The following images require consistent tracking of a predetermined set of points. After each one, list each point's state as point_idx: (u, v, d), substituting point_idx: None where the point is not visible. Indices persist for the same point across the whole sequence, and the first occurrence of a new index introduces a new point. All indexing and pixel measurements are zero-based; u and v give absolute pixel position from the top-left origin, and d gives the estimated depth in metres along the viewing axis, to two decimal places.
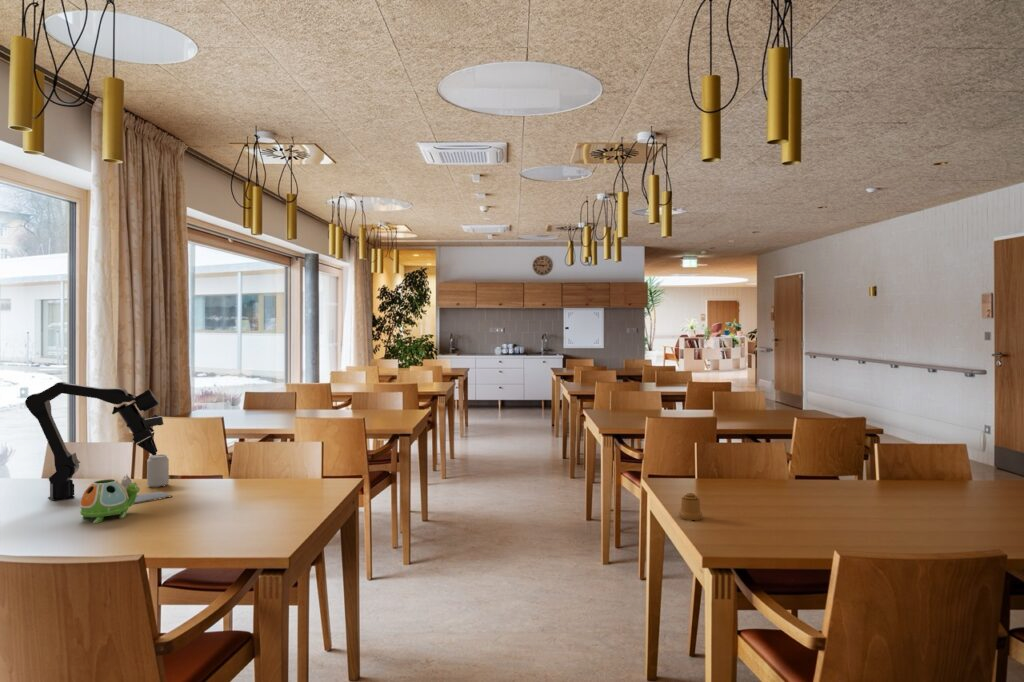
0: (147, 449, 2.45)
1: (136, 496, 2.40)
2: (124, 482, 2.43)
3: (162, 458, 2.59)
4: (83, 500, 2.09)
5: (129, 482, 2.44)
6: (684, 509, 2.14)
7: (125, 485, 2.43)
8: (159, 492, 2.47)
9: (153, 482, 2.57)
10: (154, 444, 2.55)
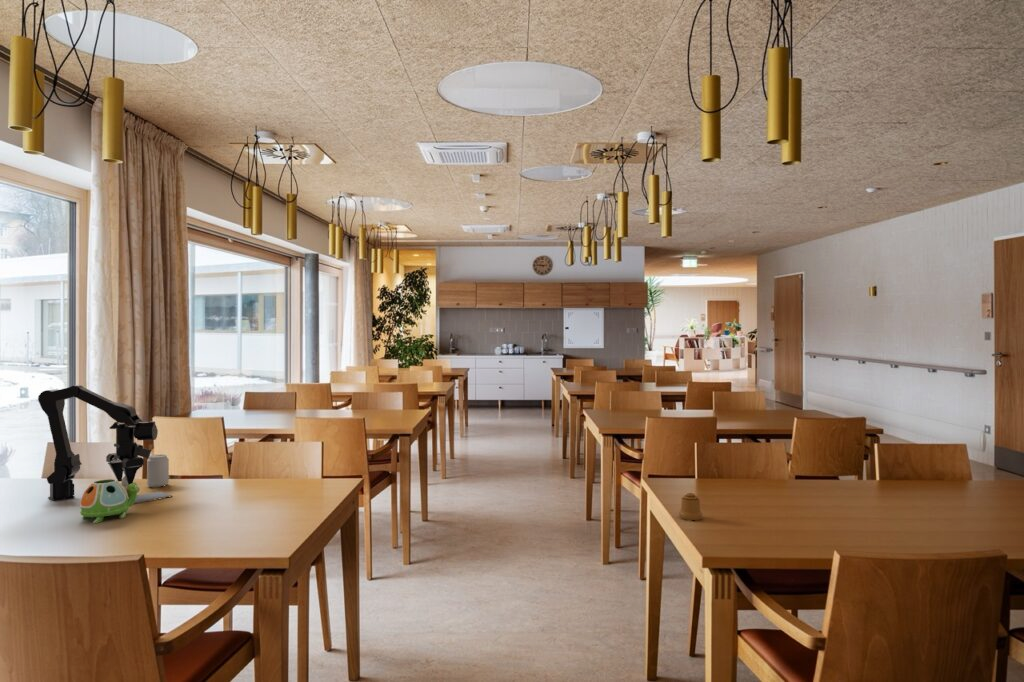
0: (128, 476, 2.39)
1: (136, 496, 2.40)
2: (124, 481, 2.43)
3: (162, 458, 2.59)
4: (83, 500, 2.09)
5: None
6: (684, 509, 2.14)
7: (125, 485, 2.43)
8: (159, 492, 2.47)
9: (153, 482, 2.57)
10: (122, 473, 2.47)
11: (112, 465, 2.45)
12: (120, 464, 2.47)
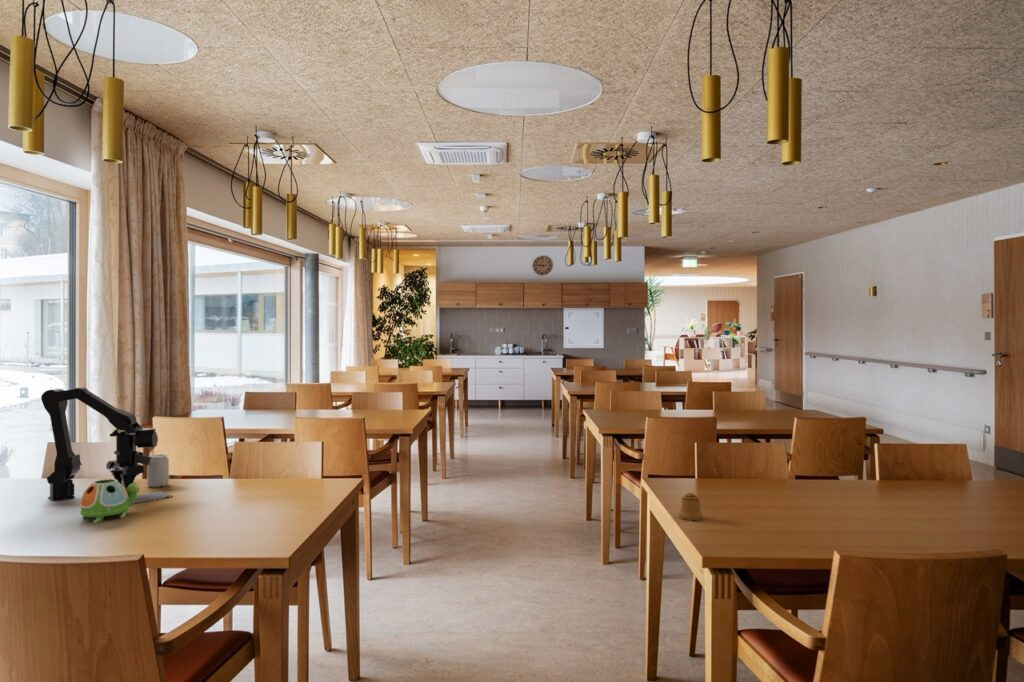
0: (126, 483, 2.40)
1: (136, 496, 2.40)
2: None
3: (162, 458, 2.59)
4: (83, 500, 2.09)
5: None
6: (684, 509, 2.14)
7: None
8: (159, 492, 2.47)
9: (153, 482, 2.57)
10: None
11: (114, 473, 2.44)
12: (122, 472, 2.46)
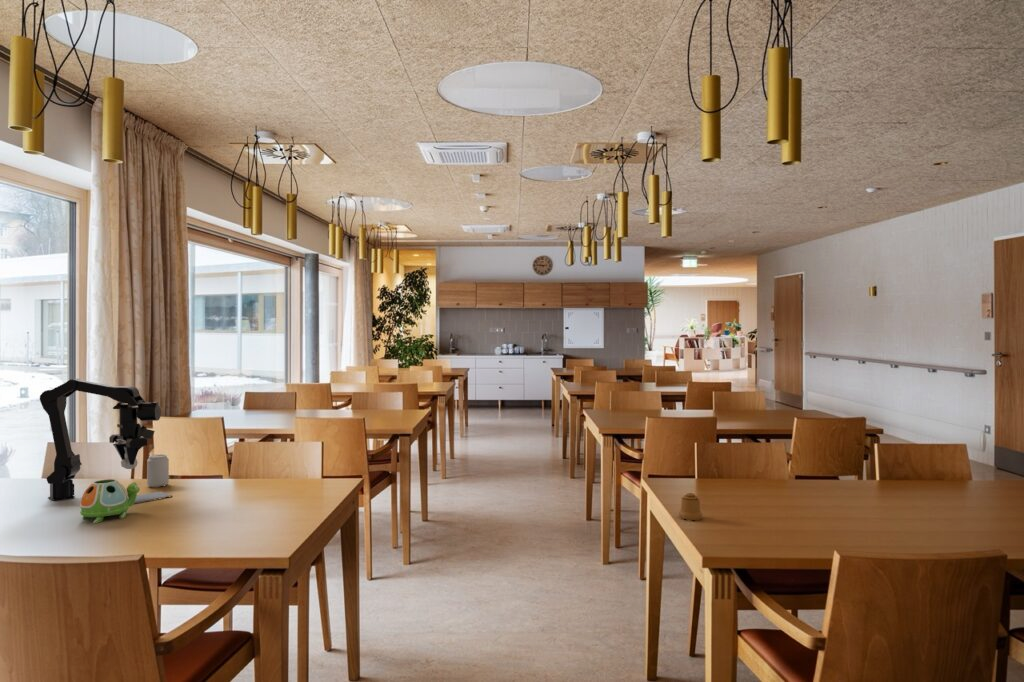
0: (130, 456, 2.40)
1: (136, 496, 2.40)
2: None
3: (162, 458, 2.59)
4: (83, 500, 2.09)
5: None
6: (684, 509, 2.14)
7: None
8: (159, 492, 2.47)
9: (153, 482, 2.57)
10: None
11: (117, 446, 2.43)
12: (125, 445, 2.46)
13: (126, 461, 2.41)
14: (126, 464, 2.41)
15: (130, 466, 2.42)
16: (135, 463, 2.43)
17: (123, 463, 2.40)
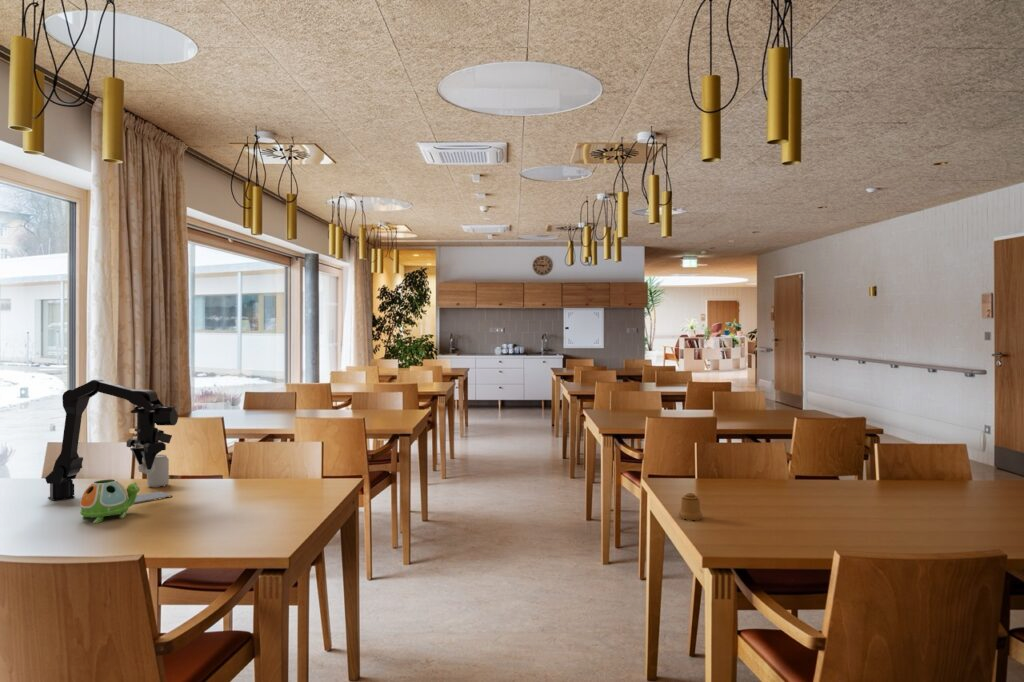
0: (147, 461, 2.36)
1: (136, 496, 2.40)
2: None
3: (162, 458, 2.59)
4: (83, 500, 2.09)
5: None
6: (684, 509, 2.14)
7: None
8: (159, 492, 2.47)
9: (153, 482, 2.57)
10: None
11: (135, 451, 2.40)
12: (142, 450, 2.42)
13: (143, 466, 2.38)
14: (143, 469, 2.38)
15: (147, 471, 2.38)
16: (152, 468, 2.40)
17: (140, 468, 2.37)
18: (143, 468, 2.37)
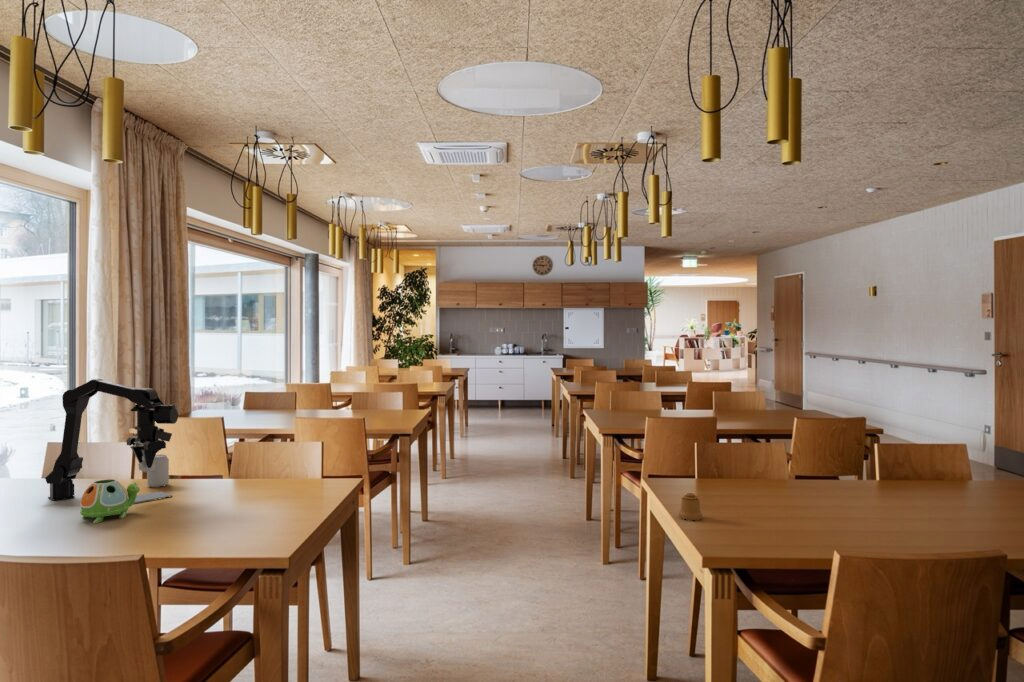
0: (147, 459, 2.36)
1: (136, 496, 2.40)
2: None
3: (162, 458, 2.59)
4: (83, 500, 2.09)
5: None
6: (684, 509, 2.14)
7: None
8: (159, 492, 2.47)
9: (153, 482, 2.57)
10: None
11: (135, 449, 2.40)
12: (143, 448, 2.42)
13: (144, 464, 2.38)
14: (144, 467, 2.38)
15: (148, 469, 2.38)
16: (153, 466, 2.40)
17: (141, 466, 2.37)
18: (143, 466, 2.37)
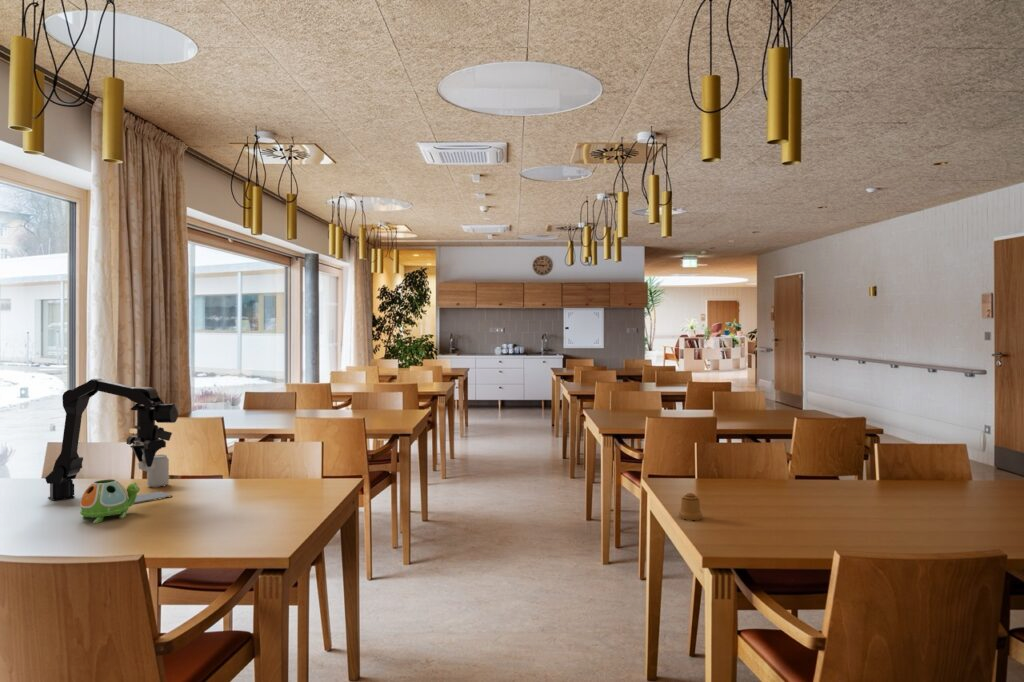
0: (147, 458, 2.36)
1: (136, 496, 2.40)
2: None
3: (162, 458, 2.59)
4: (83, 500, 2.09)
5: None
6: (684, 509, 2.14)
7: None
8: (159, 492, 2.47)
9: (153, 482, 2.57)
10: None
11: (135, 448, 2.40)
12: (143, 447, 2.42)
13: (143, 463, 2.38)
14: (143, 466, 2.38)
15: (147, 468, 2.38)
16: (152, 465, 2.40)
17: (140, 465, 2.37)
18: (143, 465, 2.37)
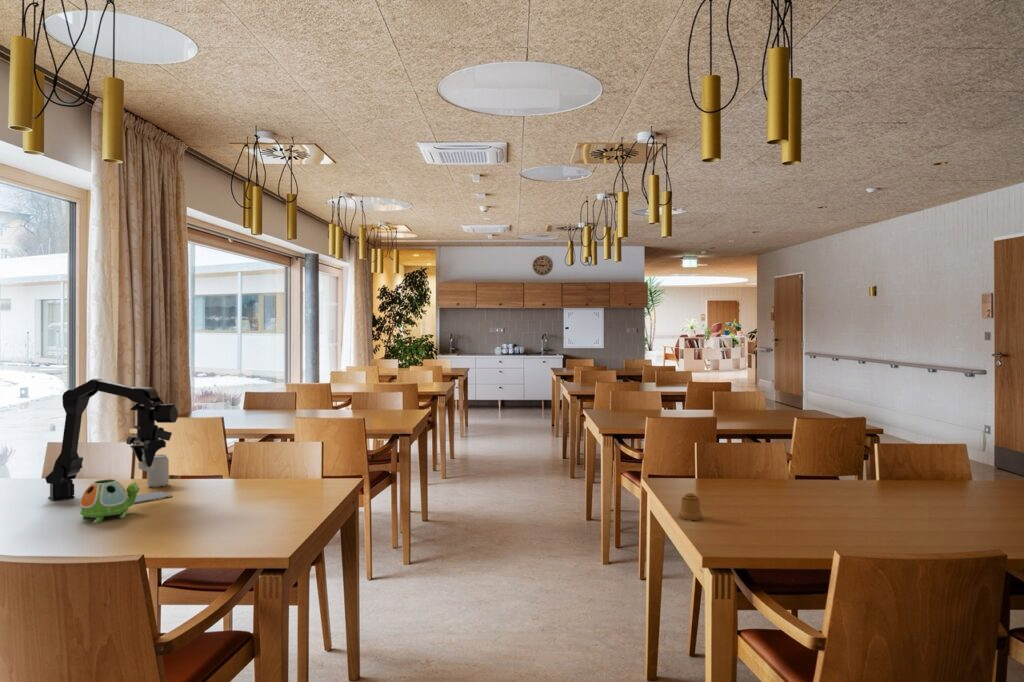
0: (147, 458, 2.36)
1: (136, 496, 2.40)
2: None
3: (162, 458, 2.59)
4: (83, 500, 2.09)
5: None
6: (684, 509, 2.14)
7: None
8: (159, 492, 2.47)
9: (153, 482, 2.57)
10: None
11: (135, 448, 2.40)
12: (143, 447, 2.42)
13: (143, 463, 2.38)
14: (143, 466, 2.38)
15: (147, 468, 2.38)
16: (152, 465, 2.40)
17: (140, 465, 2.37)
18: (143, 465, 2.37)
